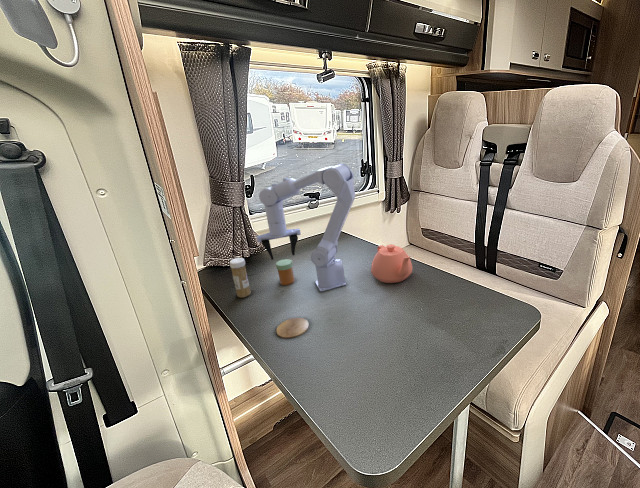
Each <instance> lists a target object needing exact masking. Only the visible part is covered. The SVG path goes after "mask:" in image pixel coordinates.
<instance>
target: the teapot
mask: <svg viewBox="0 0 640 488" xmlns="http://www.w3.org/2000/svg"><path fill="white" fill-rule="evenodd" d="M370 273H371V274H372V276H373V277H374V278H375V279H376V280H378V281H380V282H382V283H386V284H396V283H401V282H403V281H405V280H407V279H408V278H409V277H410V276H411V274H412V273H413V263H412V260H411V256H409V255H408V253H407V252H406V250H405V249H404V248H402V247H401V246H399V245H395V244H387V245H386V246H385V245H384V244H380V245H378V246H377V251H376V254H375V255H374V257H373V260H372V261H371V266H370Z"/></svg>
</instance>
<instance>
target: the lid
mask: <svg viewBox="0 0 640 488" xmlns="http://www.w3.org/2000/svg"><path fill="white" fill-rule="evenodd" d="M293 266H294V264H293V260H292V259H289V258H285V259H280V260H277V261H276V262H275V267H276V270H277V271H278V270H287V269H290V268H291V267H292V268H293Z"/></svg>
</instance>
